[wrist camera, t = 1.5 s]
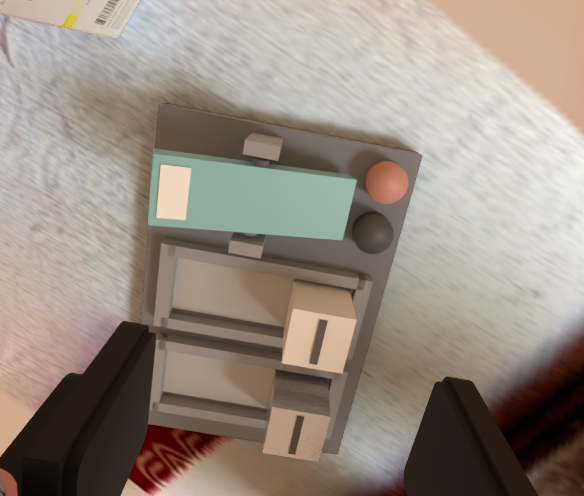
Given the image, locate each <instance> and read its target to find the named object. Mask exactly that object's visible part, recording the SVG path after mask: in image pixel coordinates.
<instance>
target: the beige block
mask: <svg viewBox="0 0 584 496" xmlns="http://www.w3.org/2000/svg"><path fill="white" fill-rule="evenodd" d="M330 418H331V414H330V403H329V391H328V380H327V378H324V377H318V376H312V375H306V374H301V373H295V372H289V371H283V370H277V369H275V374H274V378H273V383H272V388H271V393H270V398H269V402H268V407H267V415H266V424H265V434H264V444H263V453H265V454H272V455H278V456H284V457H290V458H297V459H303V460H309V461H315V462H319V459H320V455H321V451H322V448H323V444H324V440H325V436H326V433H327V429H328V425H329V422H330Z"/></svg>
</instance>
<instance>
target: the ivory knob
mask: <svg viewBox="0 0 584 496" xmlns="http://www.w3.org/2000/svg"><path fill="white" fill-rule="evenodd" d="M356 321H357V319H356V315H355V310H354V306H353V302H352V298H351V294H350V289H347V288H341V287H336V286H330V285H325V284H319V283H314V282H308V281H303V280H297V279H294V282H293V287H292V292H291V296H290V301H289V306H288V311H287V316H286V320H285V325H284V335H283V350H282V363H283V364H289V365H294V366H300V367H306V368H312V369H318V370H324V371H330V372H335V373H341V374H342V373H343V369H344V366H345V362H346V358H347V354H348V351H349V347H350V343H351V340H352V336H353V332H354V328H355V325H356Z"/></svg>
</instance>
